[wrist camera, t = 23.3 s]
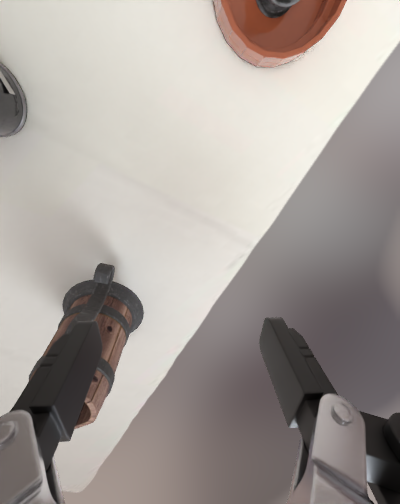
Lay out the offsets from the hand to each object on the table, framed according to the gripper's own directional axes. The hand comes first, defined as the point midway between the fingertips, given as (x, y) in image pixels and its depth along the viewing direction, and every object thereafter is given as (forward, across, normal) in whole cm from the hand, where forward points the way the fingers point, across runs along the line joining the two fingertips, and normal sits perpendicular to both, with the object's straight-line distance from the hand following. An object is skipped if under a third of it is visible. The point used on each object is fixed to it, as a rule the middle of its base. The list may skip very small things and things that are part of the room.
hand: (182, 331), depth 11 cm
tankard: (+30, +16, +23) cm, 41 cm away
